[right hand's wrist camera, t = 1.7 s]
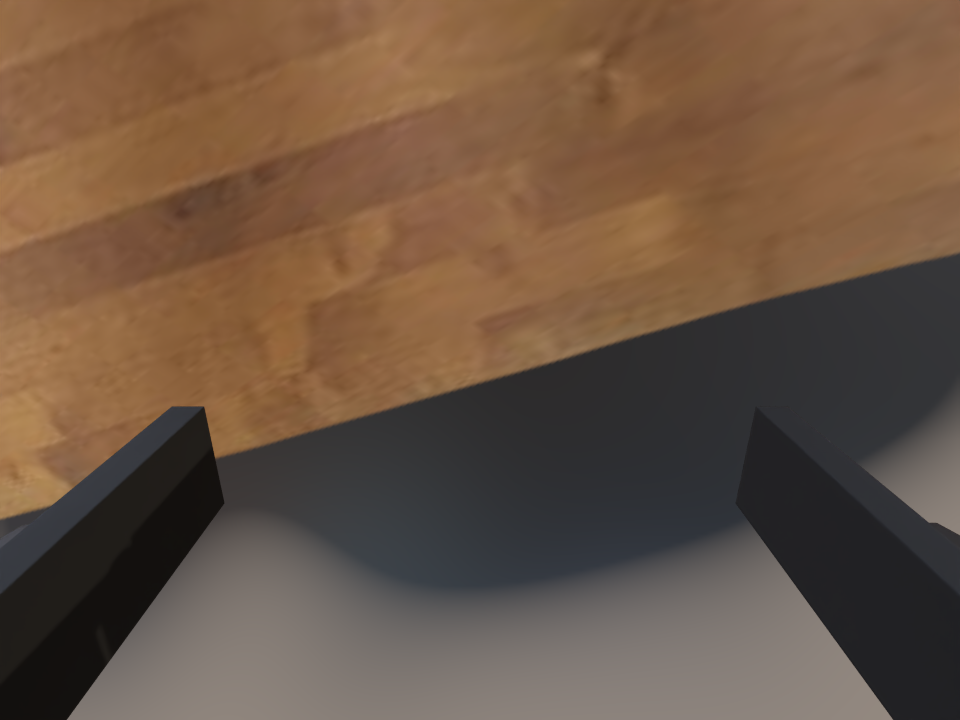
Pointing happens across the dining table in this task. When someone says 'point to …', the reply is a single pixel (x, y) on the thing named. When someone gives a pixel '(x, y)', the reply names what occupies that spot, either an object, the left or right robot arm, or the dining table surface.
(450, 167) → the dining table surface
